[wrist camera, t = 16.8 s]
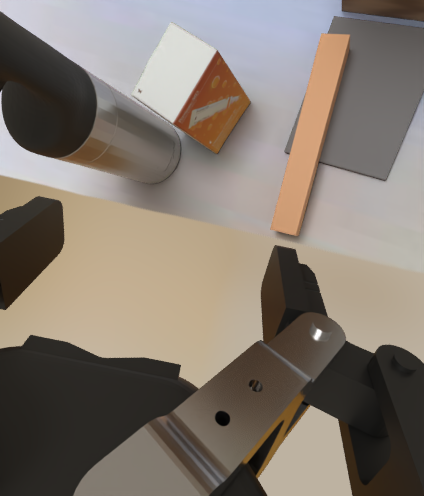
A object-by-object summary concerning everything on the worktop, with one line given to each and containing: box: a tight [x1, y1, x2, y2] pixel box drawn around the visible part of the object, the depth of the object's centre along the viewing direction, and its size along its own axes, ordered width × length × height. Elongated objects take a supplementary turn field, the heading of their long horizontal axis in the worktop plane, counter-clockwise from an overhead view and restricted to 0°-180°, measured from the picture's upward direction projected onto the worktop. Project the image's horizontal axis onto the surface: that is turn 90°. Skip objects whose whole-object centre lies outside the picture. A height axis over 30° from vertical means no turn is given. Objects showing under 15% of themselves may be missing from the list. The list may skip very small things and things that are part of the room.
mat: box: [285, 16, 424, 180], centre depth 38 cm, size 12×16×1 cm
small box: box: [131, 22, 250, 154], centre depth 39 cm, size 8×6×13 cm
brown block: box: [270, 33, 350, 236], centre depth 38 cm, size 3×22×3 cm
